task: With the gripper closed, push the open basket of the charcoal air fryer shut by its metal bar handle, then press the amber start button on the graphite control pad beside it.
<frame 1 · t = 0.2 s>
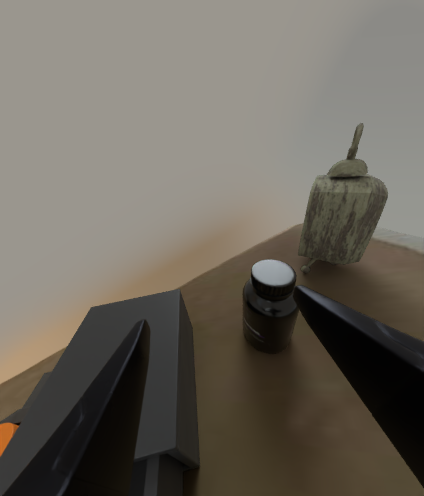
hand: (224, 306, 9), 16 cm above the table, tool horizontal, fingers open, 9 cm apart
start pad: (55, 428, 18), on the table
tabletop clock: (322, 262, 36), on the table
supplement bottle: (266, 332, 24), on the table
air fryer: (149, 388, 20), on the table
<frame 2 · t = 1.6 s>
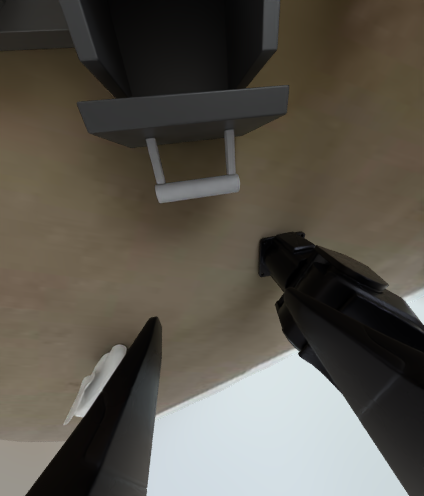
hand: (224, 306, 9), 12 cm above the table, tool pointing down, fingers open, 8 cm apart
basket: (178, 51, 9), point 5 cm above the table, slide at 5.5 cm
elephant figurine: (120, 357, 29), on the table
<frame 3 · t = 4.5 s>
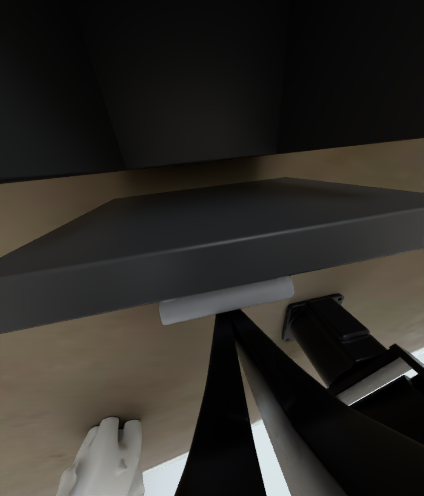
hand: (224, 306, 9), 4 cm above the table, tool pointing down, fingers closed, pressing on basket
basket: (210, 100, 5), point 5 cm above the table, slide at 5.4 cm, touching gripper
elephant figurine: (111, 426, 24), on the table
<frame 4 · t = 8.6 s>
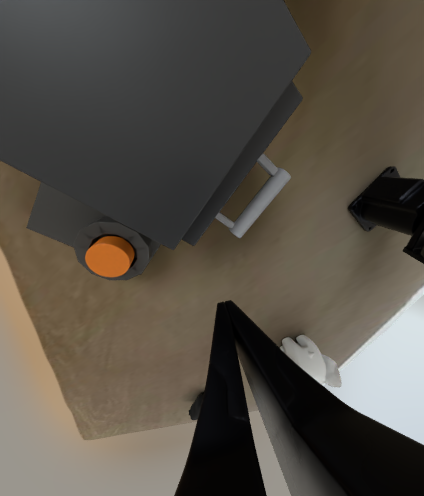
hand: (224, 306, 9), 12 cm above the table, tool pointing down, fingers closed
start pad: (112, 219, 17), on the table
start button: (111, 256, 15), point 4 cm above the table, slide at 0.1 cm
tape measure: (202, 395, 41), on the table
basket: (183, 142, 11), point 5 cm above the table, slide at 0.1 cm
air fryer: (143, 115, 14), on the table
elephant figurine: (289, 344, 37), on the table
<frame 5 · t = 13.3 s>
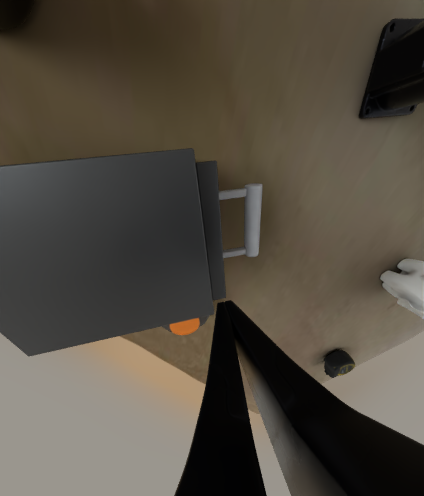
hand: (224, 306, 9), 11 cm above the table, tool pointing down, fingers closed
start button: (184, 319, 20), point 4 cm above the table, slide at 0.1 cm
tape measure: (328, 355, 43), on the table
basket: (166, 234, 14), point 5 cm above the table, slide at 0.1 cm
air fryer: (132, 224, 17), on the table
elephant figurine: (393, 275, 31), on the table
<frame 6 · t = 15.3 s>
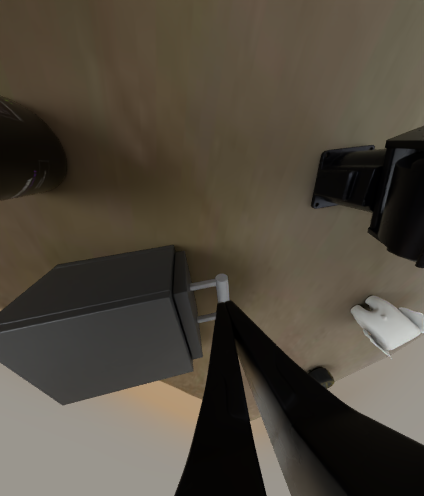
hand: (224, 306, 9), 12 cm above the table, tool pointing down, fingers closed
tape measure: (311, 371, 47), on the table
basket: (158, 309, 18), point 5 cm above the table, slide at 0.1 cm
supplement bottle: (25, 149, 14), on the table
air fryer: (133, 289, 22), on the table
elephant figurine: (363, 307, 36), on the table
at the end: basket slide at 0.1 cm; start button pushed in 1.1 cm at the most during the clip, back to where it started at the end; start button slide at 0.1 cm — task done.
